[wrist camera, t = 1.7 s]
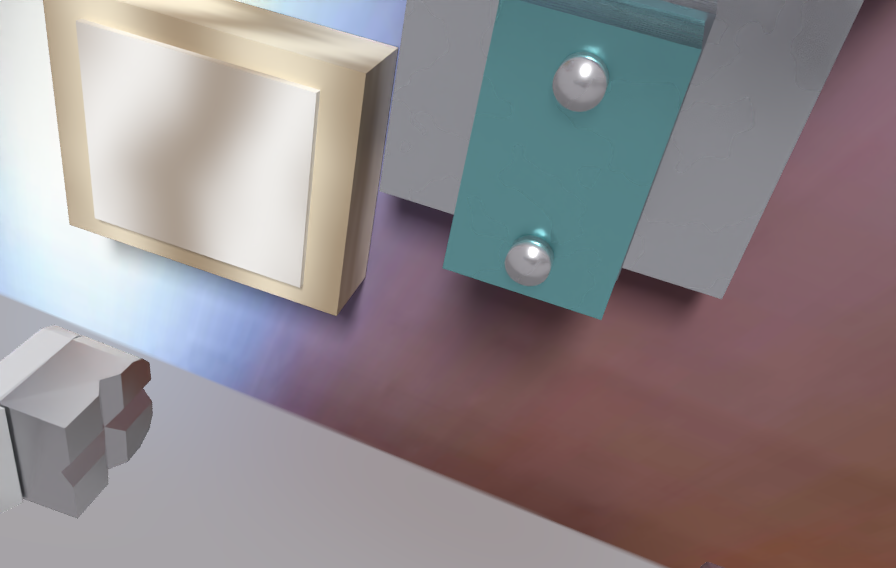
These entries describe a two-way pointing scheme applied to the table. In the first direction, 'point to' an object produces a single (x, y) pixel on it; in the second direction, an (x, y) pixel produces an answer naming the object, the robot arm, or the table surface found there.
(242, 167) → the stand
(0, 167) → the table surface
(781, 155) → the stand
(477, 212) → the block
